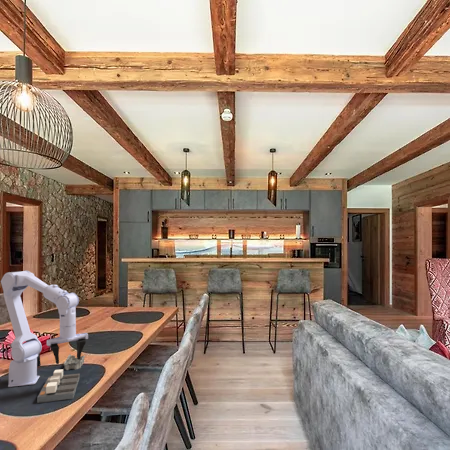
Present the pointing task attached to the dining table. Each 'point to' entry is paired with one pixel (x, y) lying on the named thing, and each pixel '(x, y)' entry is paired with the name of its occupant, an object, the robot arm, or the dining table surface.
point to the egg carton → (73, 362)
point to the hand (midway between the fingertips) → (68, 361)
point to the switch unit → (60, 389)
